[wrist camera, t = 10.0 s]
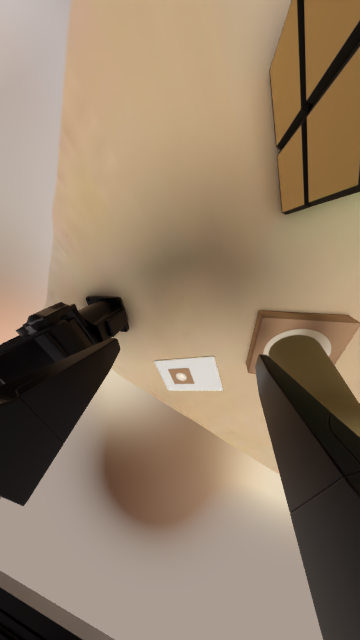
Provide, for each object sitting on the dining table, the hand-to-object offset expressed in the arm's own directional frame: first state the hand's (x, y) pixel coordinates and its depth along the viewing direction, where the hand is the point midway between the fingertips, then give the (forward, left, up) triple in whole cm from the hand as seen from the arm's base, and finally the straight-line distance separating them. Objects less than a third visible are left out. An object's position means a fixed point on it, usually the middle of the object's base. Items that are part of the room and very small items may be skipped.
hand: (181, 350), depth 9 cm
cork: (+13, -8, -11) cm, 19 cm away
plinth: (+13, -8, -13) cm, 20 cm away
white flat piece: (-2, -18, -13) cm, 22 cm away
